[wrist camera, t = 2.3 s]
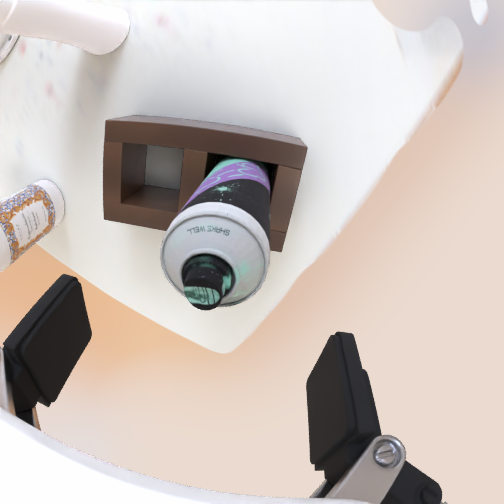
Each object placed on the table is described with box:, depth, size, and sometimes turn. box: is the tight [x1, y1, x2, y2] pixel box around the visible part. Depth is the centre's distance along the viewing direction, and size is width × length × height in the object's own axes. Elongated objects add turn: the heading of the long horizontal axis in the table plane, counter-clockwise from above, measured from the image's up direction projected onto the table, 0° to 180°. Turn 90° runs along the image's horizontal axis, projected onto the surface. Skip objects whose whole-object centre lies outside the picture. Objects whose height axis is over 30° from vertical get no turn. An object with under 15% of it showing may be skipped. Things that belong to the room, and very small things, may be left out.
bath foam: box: [0, 180, 65, 272], centre depth 23 cm, size 7×7×20 cm
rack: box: [103, 115, 307, 252], centre depth 26 cm, size 10×18×6 cm, turn 80°
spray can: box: [160, 155, 270, 310], centre depth 20 cm, size 6×6×20 cm
